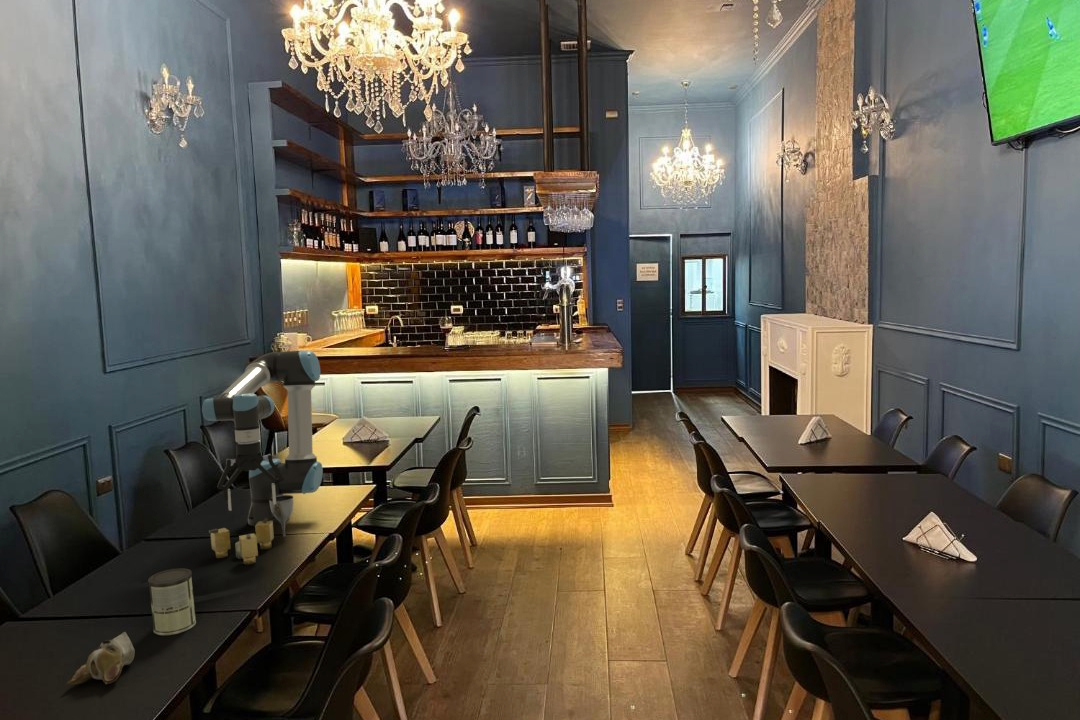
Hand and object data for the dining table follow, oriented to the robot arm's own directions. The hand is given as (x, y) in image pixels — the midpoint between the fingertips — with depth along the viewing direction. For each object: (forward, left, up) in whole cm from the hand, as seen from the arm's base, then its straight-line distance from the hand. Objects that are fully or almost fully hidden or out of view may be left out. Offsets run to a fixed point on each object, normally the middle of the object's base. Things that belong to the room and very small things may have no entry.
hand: (252, 506), depth 251 cm
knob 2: (+6, 0, -17) cm, 18 cm away
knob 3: (-8, 0, -17) cm, 18 cm away
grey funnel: (-20, +2, -18) cm, 27 cm away
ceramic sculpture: (+74, -6, -18) cm, 77 cm away
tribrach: (-1, -4, -18) cm, 18 cm away
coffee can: (+49, -3, -18) cm, 52 cm away
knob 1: (-1, -12, -17) cm, 20 cm away
